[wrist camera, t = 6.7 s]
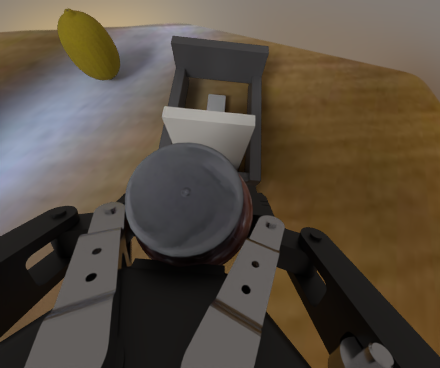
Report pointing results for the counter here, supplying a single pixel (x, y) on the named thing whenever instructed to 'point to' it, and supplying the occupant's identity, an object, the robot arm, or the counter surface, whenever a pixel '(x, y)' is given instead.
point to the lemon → (88, 45)
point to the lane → (226, 71)
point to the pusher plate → (211, 128)
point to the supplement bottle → (188, 206)
